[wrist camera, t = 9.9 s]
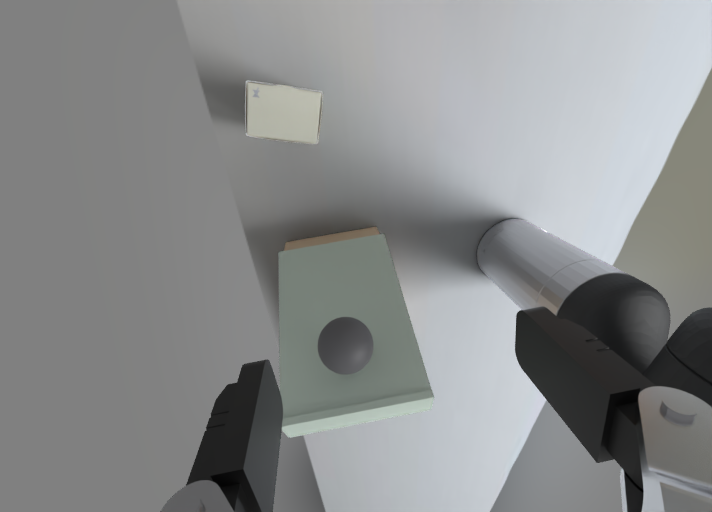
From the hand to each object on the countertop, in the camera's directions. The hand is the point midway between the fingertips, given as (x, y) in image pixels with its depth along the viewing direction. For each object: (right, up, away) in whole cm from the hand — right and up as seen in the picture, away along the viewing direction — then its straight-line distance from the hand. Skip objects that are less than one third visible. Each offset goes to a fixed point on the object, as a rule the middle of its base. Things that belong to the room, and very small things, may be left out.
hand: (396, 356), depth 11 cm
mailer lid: (-2, -4, +25) cm, 25 cm away
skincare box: (-9, +19, +28) cm, 35 cm away
